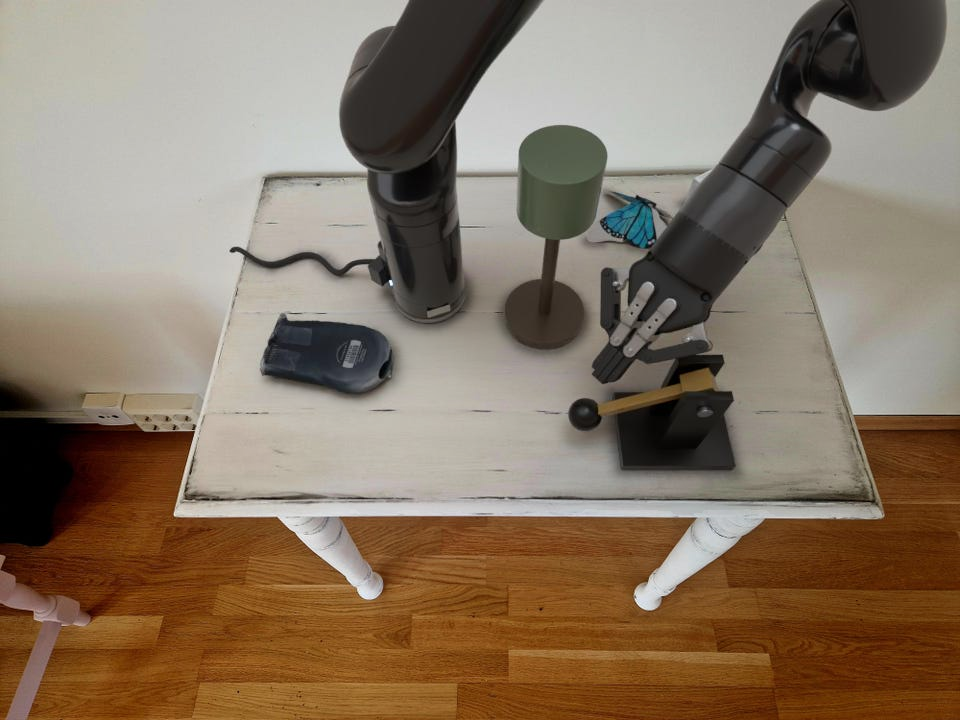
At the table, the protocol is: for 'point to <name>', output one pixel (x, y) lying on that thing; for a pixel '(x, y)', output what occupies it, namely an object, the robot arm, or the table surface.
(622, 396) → the switch bracket
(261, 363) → the electronic device
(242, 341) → the table surface
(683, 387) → the lever with ball knob
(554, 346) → the desk lamp
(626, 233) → the decorative butterfly
